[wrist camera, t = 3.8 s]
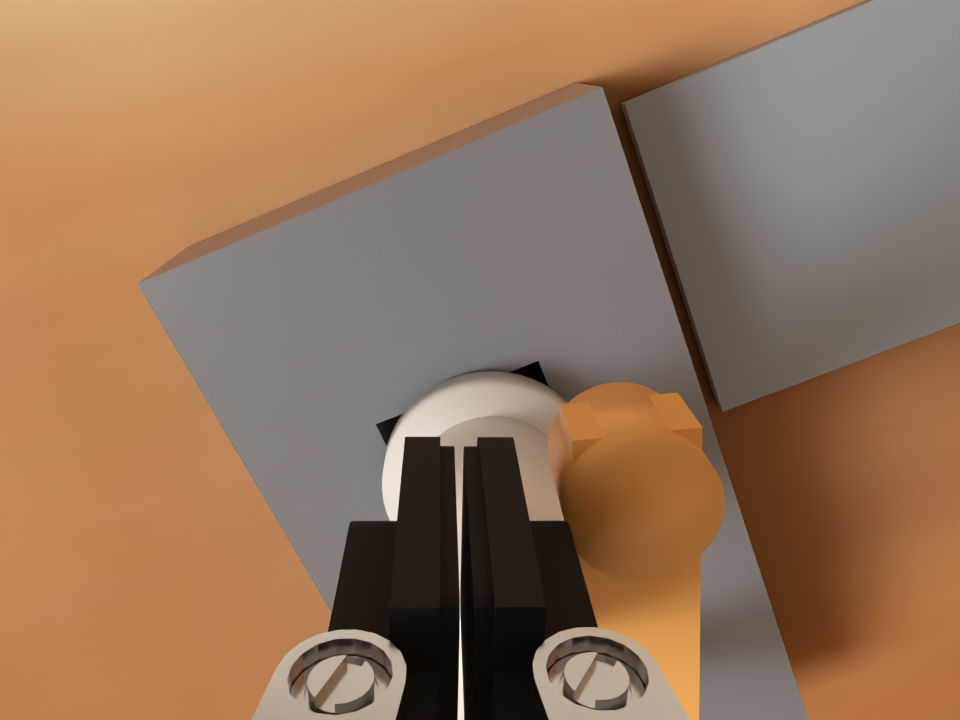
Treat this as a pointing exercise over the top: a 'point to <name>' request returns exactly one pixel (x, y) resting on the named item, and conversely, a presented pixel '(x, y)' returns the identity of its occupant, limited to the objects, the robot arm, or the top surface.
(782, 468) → the top surface
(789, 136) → the mat
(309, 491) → the grey slab
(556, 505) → the knob
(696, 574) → the clip
